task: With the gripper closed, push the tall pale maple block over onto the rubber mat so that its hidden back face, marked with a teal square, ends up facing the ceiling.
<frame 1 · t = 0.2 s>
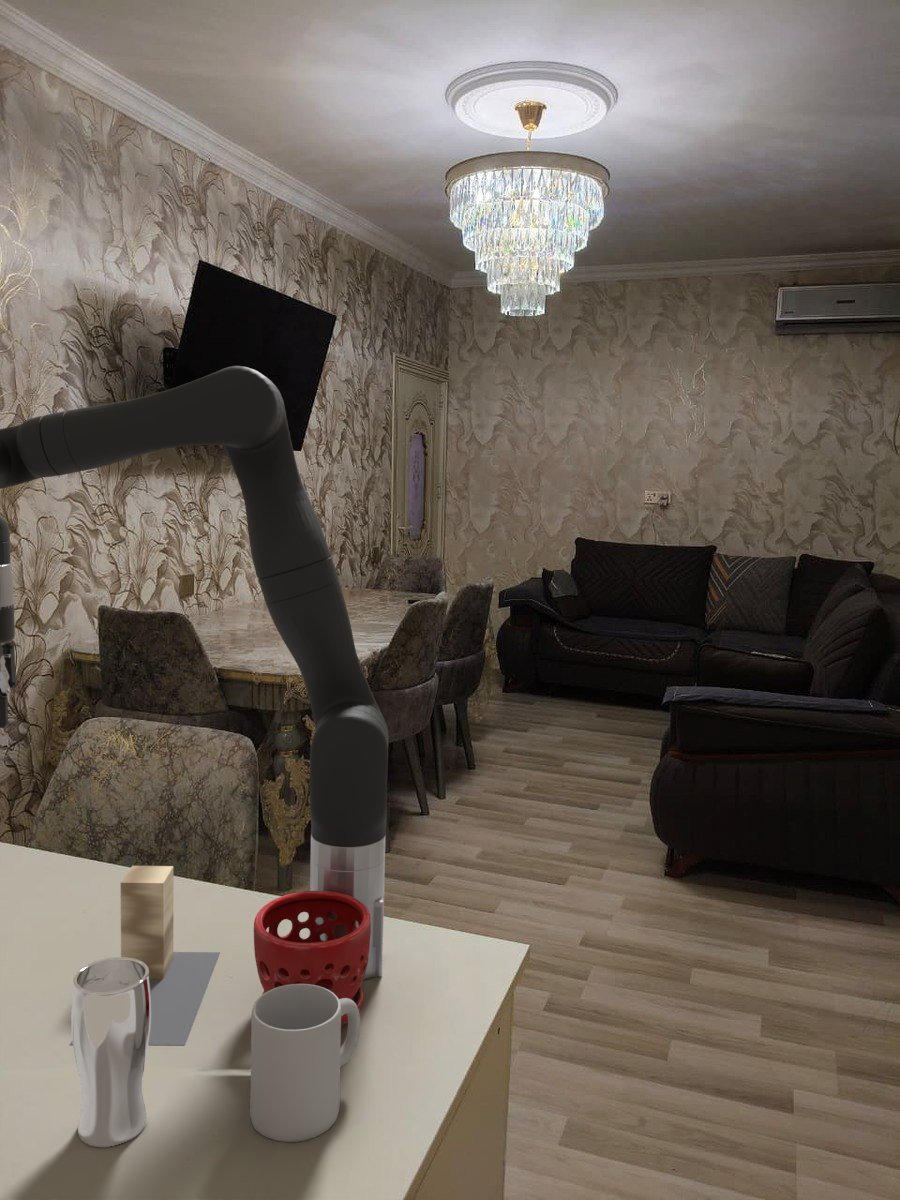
maple block: (147, 967, 116), resting on rubber mat
mug: (309, 1106, 93), on the counter
plant pot: (311, 1014, 109), on the counter
beer glass: (112, 1127, 89), on the counter
rubber mat: (151, 998, 111), on the counter
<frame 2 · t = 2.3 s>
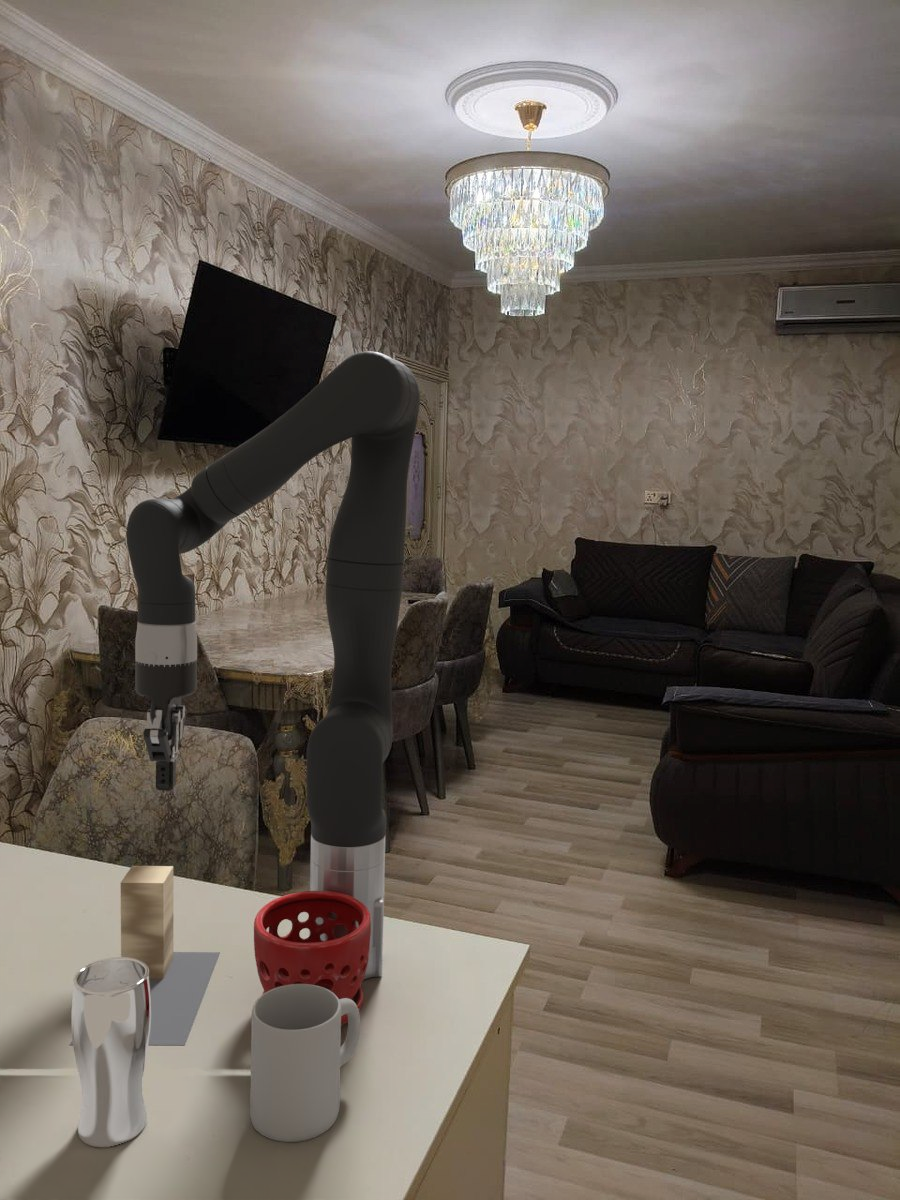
hand: (165, 788, 123), 20 cm above the counter, tool pointing down, fingers closed
nothing on the counter moved.
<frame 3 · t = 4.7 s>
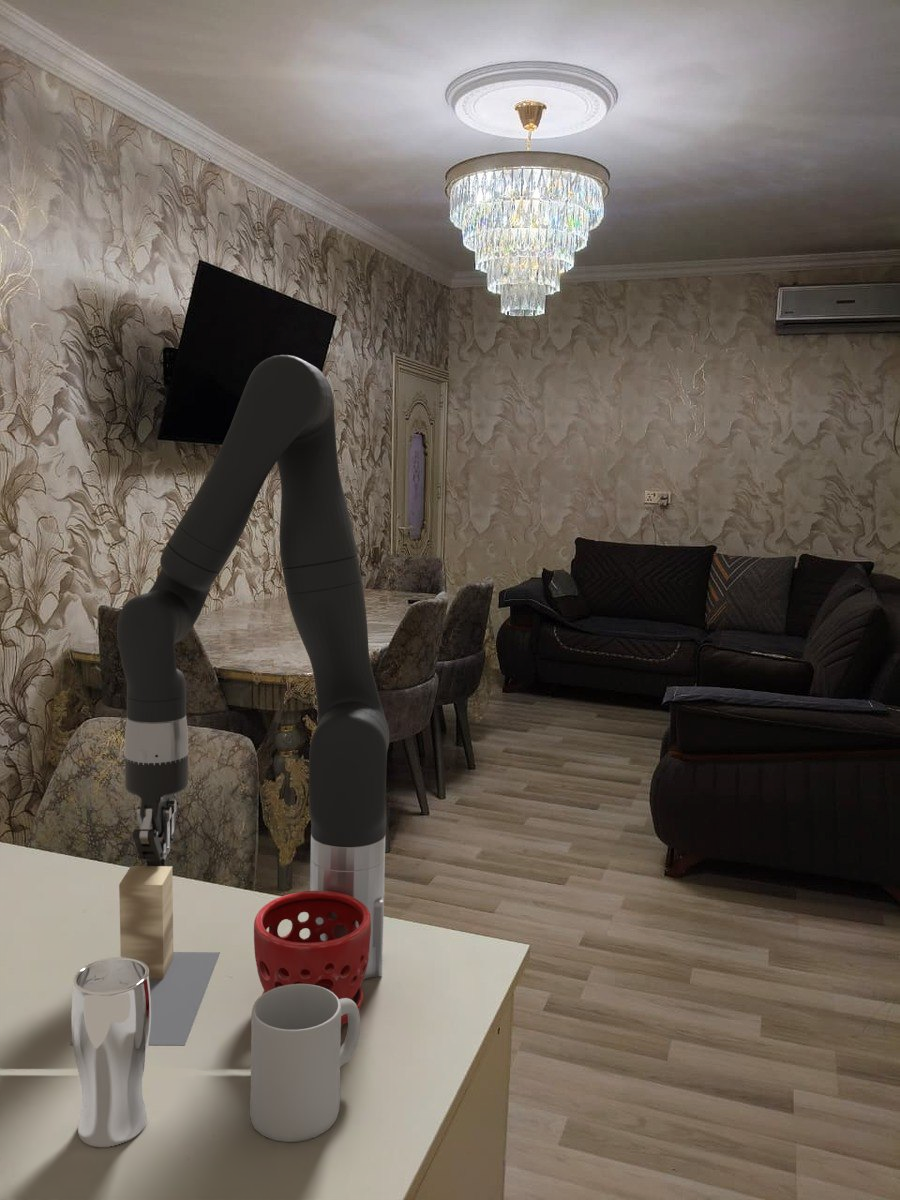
hand: (157, 884, 120), 9 cm above the counter, tool pointing down, fingers closed
maple block: (147, 967, 116), point 1 cm above the counter, touching gripper, rubber mat
everything else where it was.
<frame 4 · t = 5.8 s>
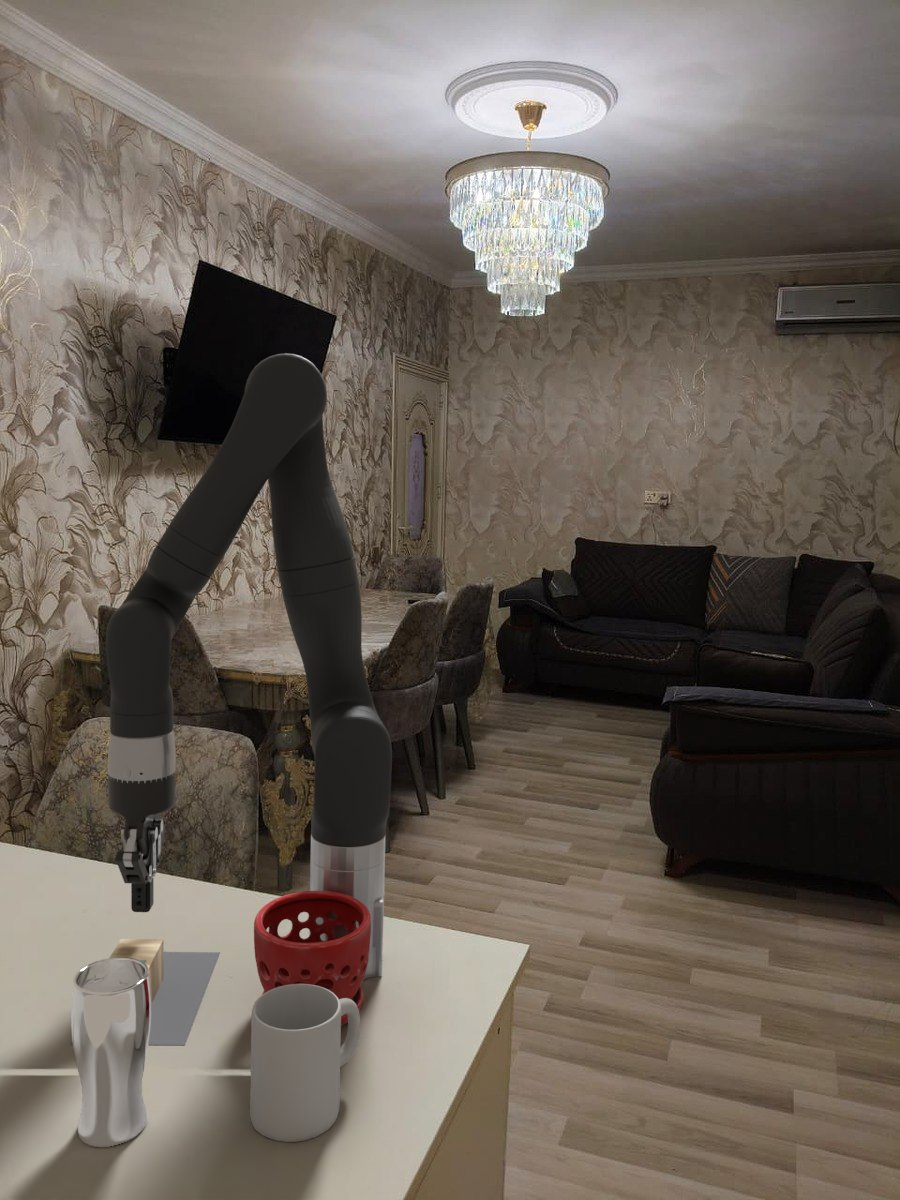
hand: (142, 909, 113), 9 cm above the counter, tool pointing down, fingers closed
maple block: (142, 958, 114), point 3 cm above the counter, tilted 90°, touching rubber mat
everything else where it was.
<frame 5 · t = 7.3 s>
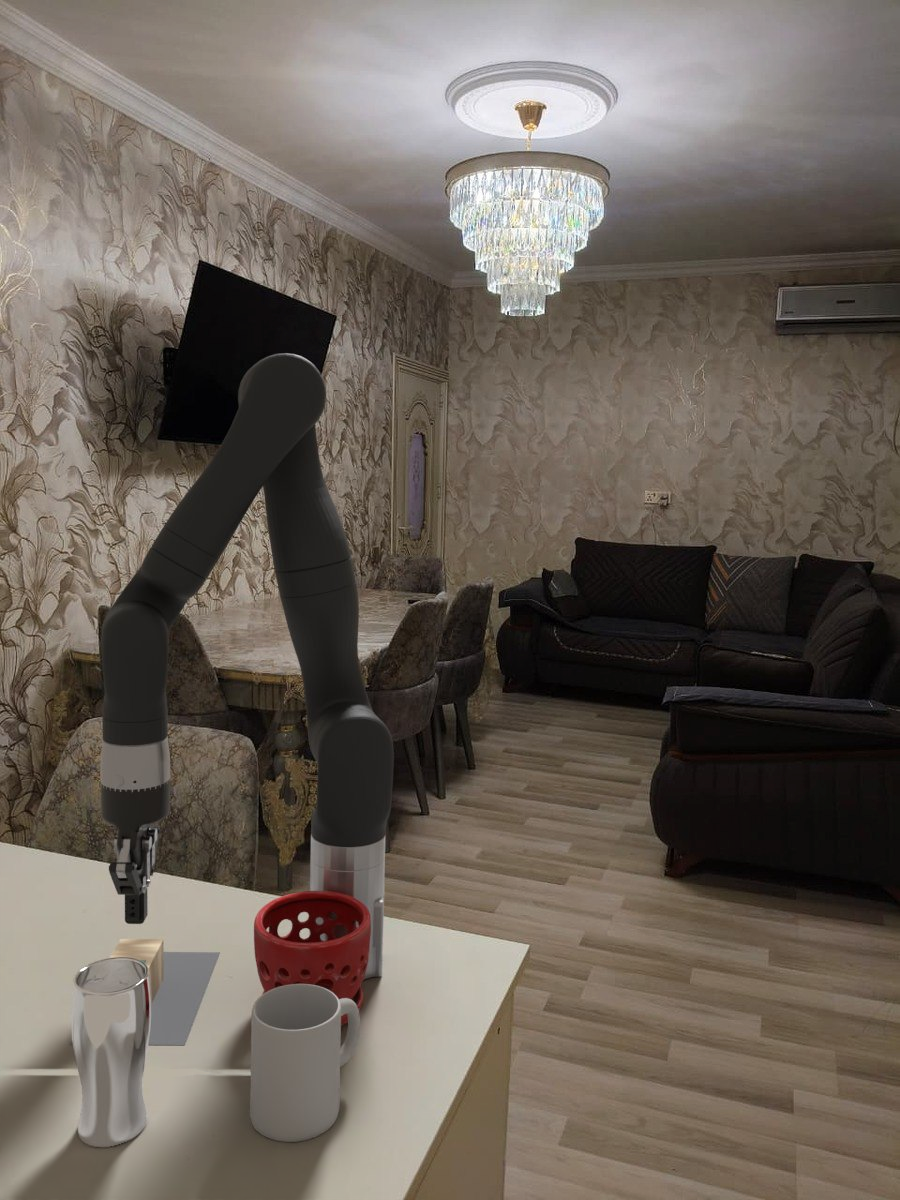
hand: (136, 920, 110), 9 cm above the counter, tool pointing down, fingers closed
nothing on the counter moved.
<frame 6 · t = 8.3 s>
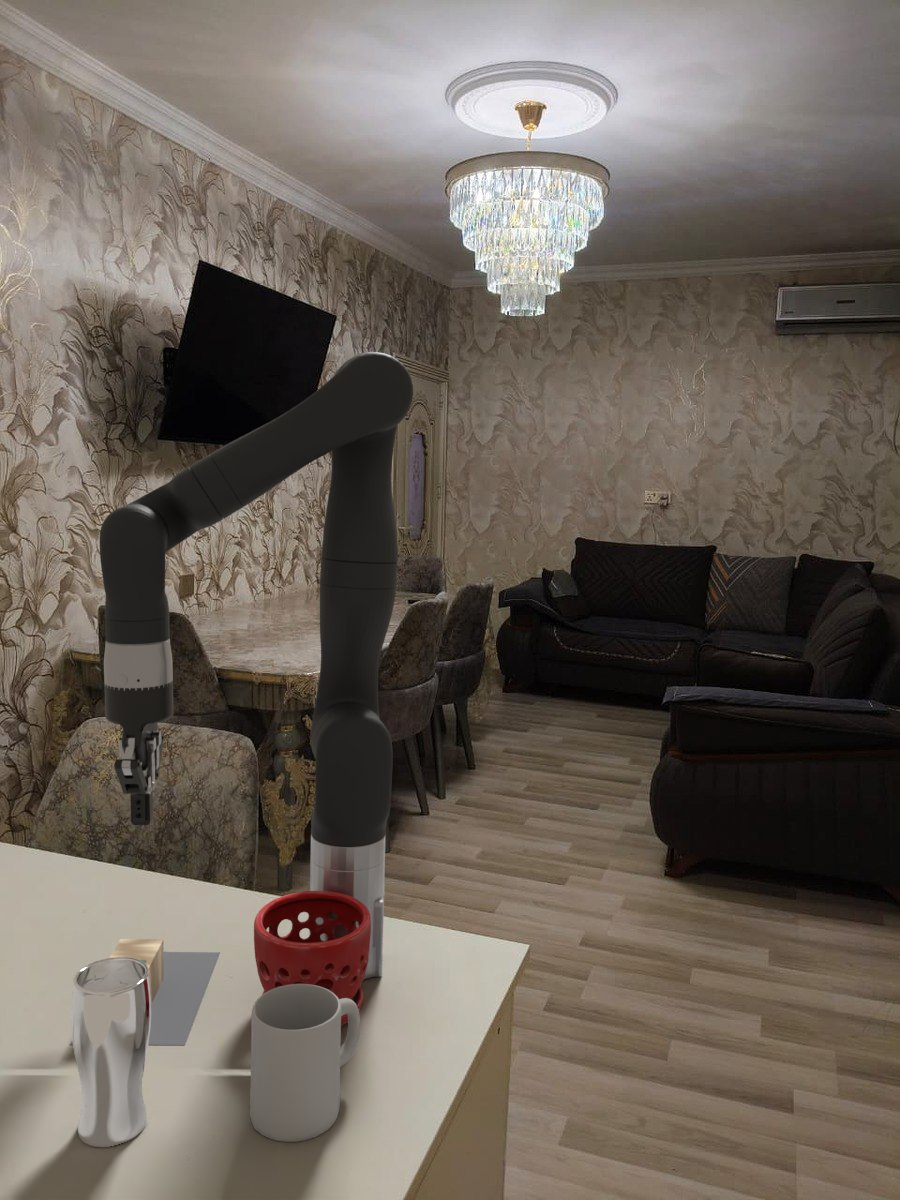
hand: (142, 822, 112), 20 cm above the counter, tool pointing down, fingers closed
nothing on the counter moved.
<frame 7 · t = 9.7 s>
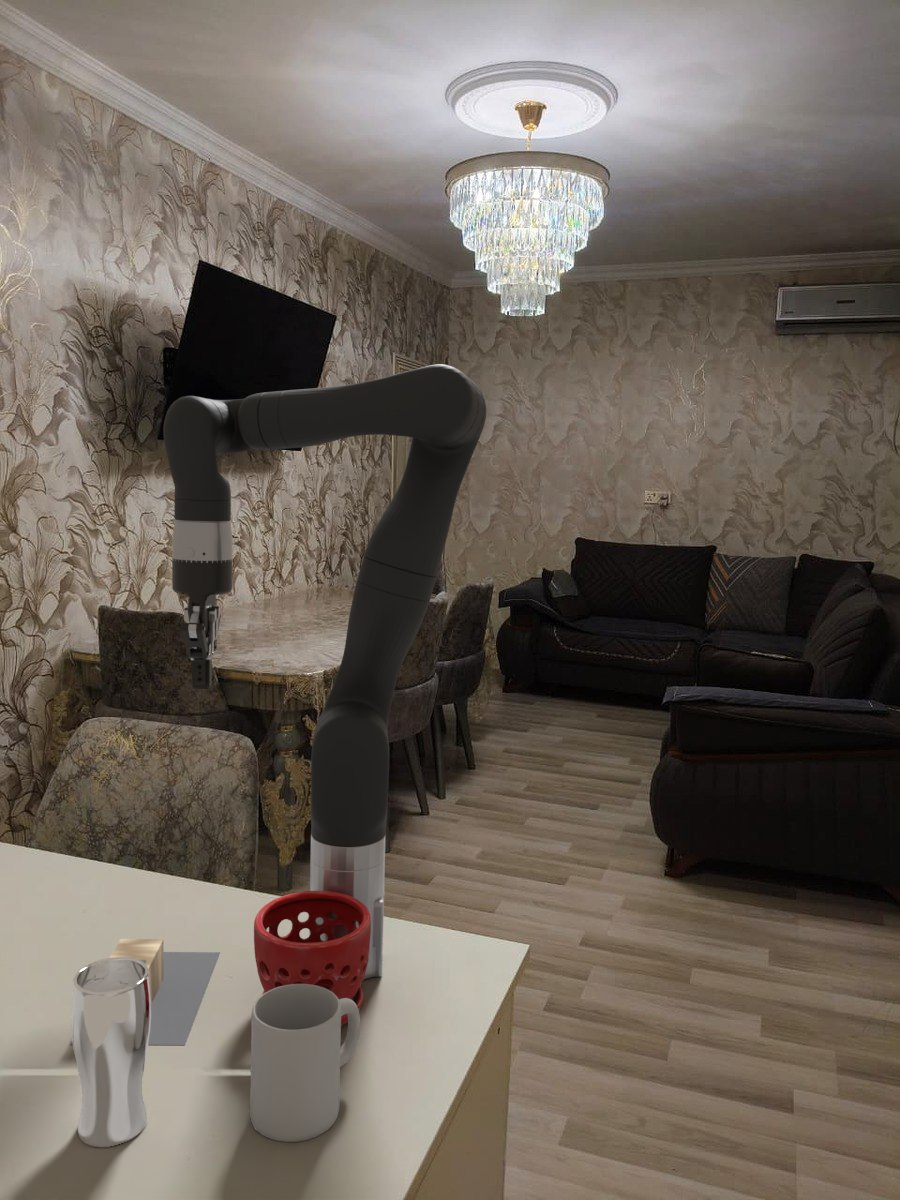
hand: (202, 687, 124), 33 cm above the counter, tool pointing down, fingers closed
nothing on the counter moved.
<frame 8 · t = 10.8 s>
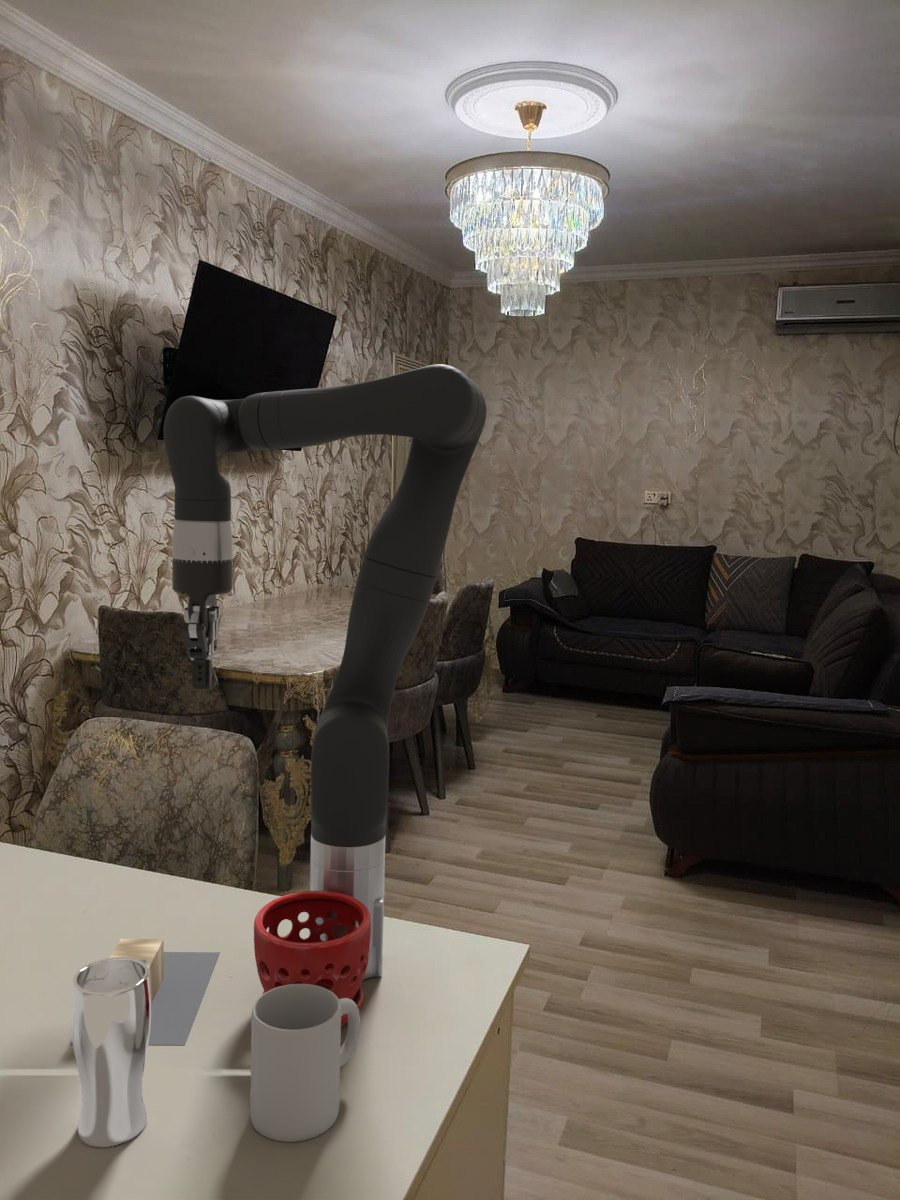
hand: (202, 687, 124), 33 cm above the counter, tool pointing down, fingers closed
nothing on the counter moved.
at the end: maple block tilted 90°; maple block inside the target area on the rubber mat (5.0 cm from its centre), point 3.0 cm above the rubber mat's base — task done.
